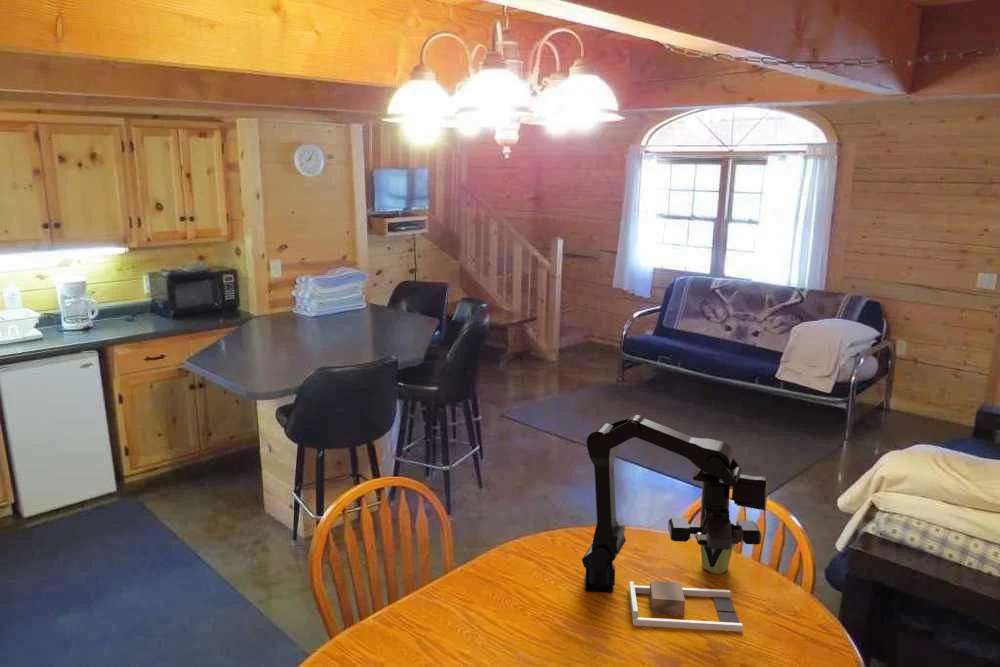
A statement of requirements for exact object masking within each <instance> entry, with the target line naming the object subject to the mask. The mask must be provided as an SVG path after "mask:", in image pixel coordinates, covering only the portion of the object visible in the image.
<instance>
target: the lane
mask: <svg viewBox="0 0 1000 667" xmlns="http://www.w3.org/2000/svg"><path fill="white" fill-rule="evenodd" d="M628 583H629V584H628V594H629V595H630V596H629V602H630V603H629V604H630V610H631V611H632V612H631V618H632V619H631V620H632V626H638V627H651V628H652V627H653V628H654V627H656V628H673V629H689V630H704V631H705V630H707V631H721V630H722V631H723V630H724V631H723V632H741V633H742V632H743V629H744V628H743V627H744V625H743V622H739V623H730V622H720V621H709V620H708V621H707V620H692V619H691V620H690V619H689V620H687V619H675V618H674V619H673V618H659V617H658V618H655V617H641V616H640V617H639V609H638V603H637V595H636V594H643V595H644V594H646V595H647V594H648V595H650V585H640V584H639V585H637V584H635V581H629V582H628ZM682 589H683V594H684V595H685V596H684V597H702V598H703V597H707V598H713V597H726V598H731V595H732V594H731V593H732V592H731V590H730V589H715V588H713V589H712V588H711V589H710V588H698V587H697V588H695V587H682Z"/></svg>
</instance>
